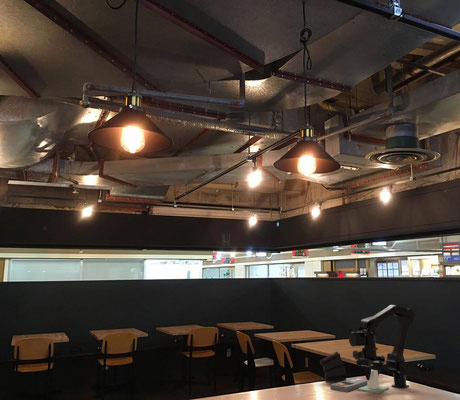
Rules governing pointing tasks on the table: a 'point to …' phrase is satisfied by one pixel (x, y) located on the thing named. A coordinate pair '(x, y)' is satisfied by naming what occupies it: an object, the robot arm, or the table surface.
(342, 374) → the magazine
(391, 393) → the table surface
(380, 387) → the green mat
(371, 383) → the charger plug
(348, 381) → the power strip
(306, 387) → the table surface
